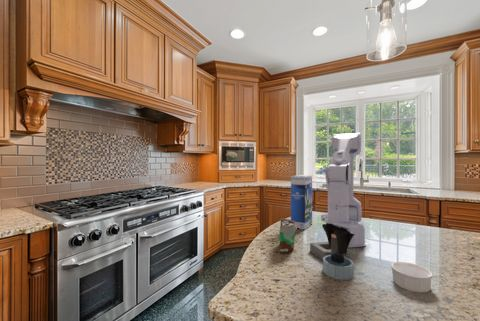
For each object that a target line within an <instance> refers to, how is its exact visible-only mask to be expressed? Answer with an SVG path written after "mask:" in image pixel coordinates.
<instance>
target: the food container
mask: <svg viewBox="0 0 480 321" xmlns="http://www.w3.org/2000/svg"><path fill="white" fill-rule="evenodd" d="M297 230H298V229H297V226H296V224H295V222H294V221H292V220H291V219H288V218H280V226H279V254H283V255H284V254H290V253H292V252H294V249H295V239H296V238H295V237H296V231H297Z"/></svg>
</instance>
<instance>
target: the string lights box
mask: <svg viewBox="0 0 480 321" xmlns="http://www.w3.org/2000/svg"><path fill="white" fill-rule="evenodd" d="M290 220H292V221H294V222H295V224H296V226H297V228H299V229H298V230H303V229H305V230H307V229H308V228H309V227H310V226H312V225H313V175H309V174H308V175H305V174H298V175H290ZM311 224H312V225H311ZM308 226H309V227H308ZM307 227H308V228H307Z"/></svg>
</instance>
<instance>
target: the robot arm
mask: <svg viewBox="0 0 480 321" xmlns="http://www.w3.org/2000/svg"><path fill="white" fill-rule="evenodd" d="M331 147H332V150H333V153H332V157H331V159H330V160H331V161H330V164H329V165H328V166H326V167H325V182H326V189H327V214H325V213H324V214H321V215H320V221H322V222H324V223H323V224H322V225H321V226H322V228H323V230H324V232H325V236H326V237H327V238H326V239H327V242H329V246H330V249H331V233H332V232H335V235H336V238H337V244H338V252H339V254H346V253H347V250H349V248H359V247H367V244H366V237H365V235H366V234H365V233H366V232H365V225H364V224H363V223H362V216H363V215H362V214H363V213H362V212H363V210H362V203H361V201H360V200H358V199H357V198H356V197H354V173H355V172H354V168H355V167H354V161H355V158H356V156H359V155H360V154H361V151H362V133H360V132H354V133H352V132H349V133H334V134H332V136H331Z"/></svg>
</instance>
